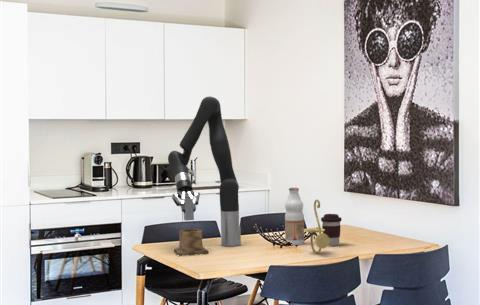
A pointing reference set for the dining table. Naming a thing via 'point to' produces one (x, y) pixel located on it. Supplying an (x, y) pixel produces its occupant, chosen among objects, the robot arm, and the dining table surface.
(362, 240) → the dining table surface
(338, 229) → the coffee cup
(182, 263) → the dining table surface
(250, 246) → the dining table surface
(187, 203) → the grey upright cylinder
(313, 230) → the wall sconce
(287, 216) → the fruit juice
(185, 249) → the wooden flanged block
